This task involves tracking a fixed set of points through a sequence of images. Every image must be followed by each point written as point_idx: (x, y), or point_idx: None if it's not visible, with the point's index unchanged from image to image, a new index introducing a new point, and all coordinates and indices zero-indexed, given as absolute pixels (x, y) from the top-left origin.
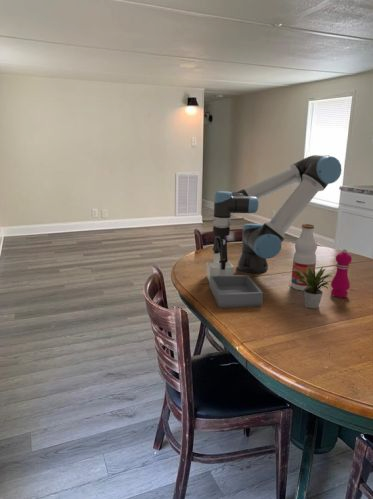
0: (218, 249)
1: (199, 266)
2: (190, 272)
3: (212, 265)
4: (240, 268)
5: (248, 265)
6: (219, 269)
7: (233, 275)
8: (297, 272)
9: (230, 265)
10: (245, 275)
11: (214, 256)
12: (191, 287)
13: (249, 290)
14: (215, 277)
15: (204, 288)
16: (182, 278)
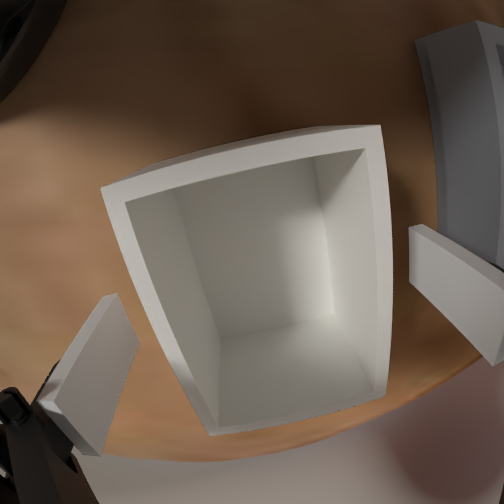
0: (70, 490)
1: (36, 372)
2: (158, 418)
3: (205, 375)
4: (6, 84)
5: (14, 6)
6: (447, 312)
7: (502, 161)
8: None
9: (242, 168)
10: (491, 46)
11: (106, 423)
12: (406, 382)
13: (502, 64)
14: None
15: (432, 326)
16: (271, 437)
